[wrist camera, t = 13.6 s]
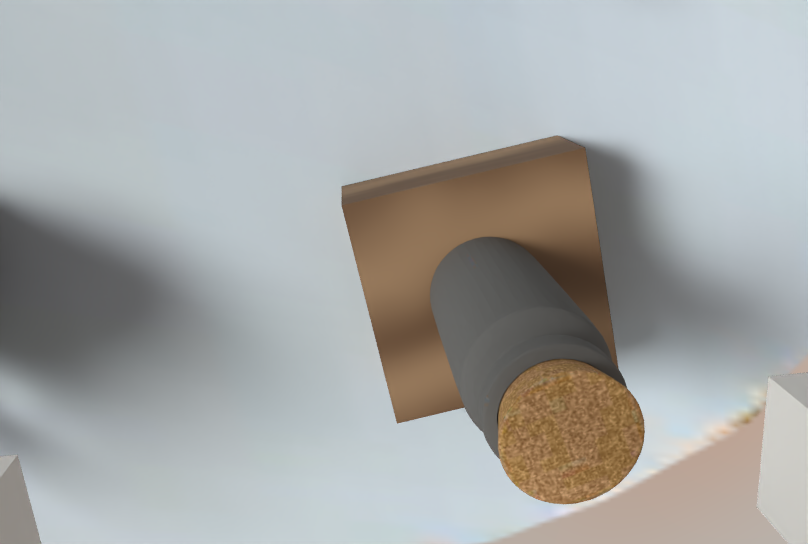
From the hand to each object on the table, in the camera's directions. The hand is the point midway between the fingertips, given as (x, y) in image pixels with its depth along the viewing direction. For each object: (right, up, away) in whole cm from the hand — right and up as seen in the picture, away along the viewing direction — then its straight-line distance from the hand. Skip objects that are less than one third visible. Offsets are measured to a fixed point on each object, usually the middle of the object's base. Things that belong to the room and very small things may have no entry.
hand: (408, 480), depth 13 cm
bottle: (+4, +3, +25) cm, 25 cm away
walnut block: (+4, +4, +30) cm, 30 cm away
